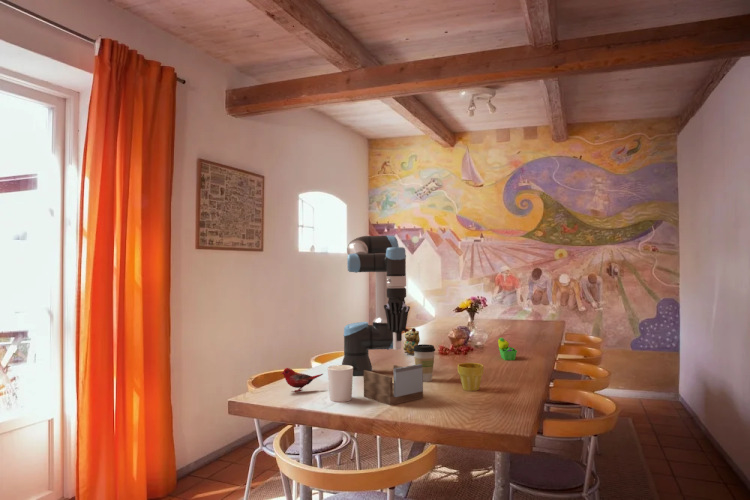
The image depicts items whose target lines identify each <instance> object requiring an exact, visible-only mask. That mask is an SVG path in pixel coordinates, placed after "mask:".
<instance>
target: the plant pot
mask: <svg viewBox="0 0 750 500" xmlns="http://www.w3.org/2000/svg"><path fill="white" fill-rule="evenodd" d="M484 367H485V366H484V365H483V364H482V363H477V362H462V363H458V364H457V374H458V375H459V378H460V382H461V386H462V390H464V391H467V392H476V391H479V390H480V387H481V382H482V377H483V375H484V372H485V371H484V369H485V368H484Z"/></svg>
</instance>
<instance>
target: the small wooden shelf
mask: <svg viewBox="0 0 750 500" xmlns="http://www.w3.org/2000/svg"><path fill="white" fill-rule="evenodd" d="M401 367H403V366H400V365H397V364H395V365H393V370H394V369H395V368H401ZM422 382H423V371H422ZM423 383H424V382H423ZM363 398H367V399H370V400H373V401H375V402H378V403H383V404H385V405H388V406H394V405H398V404H402V403H405V402H411V401H415V400H417V399H423V398H424V390H423V391H421V392H416V393H412V394H407V395H403V396H399V397H394V382H393V376H390V375H387V374H383V373H377V372H374V371H372V372H371V371H367V370H365V371H364V375H363Z"/></svg>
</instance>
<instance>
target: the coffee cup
mask: <svg viewBox="0 0 750 500" xmlns="http://www.w3.org/2000/svg"><path fill="white" fill-rule="evenodd" d="M413 351H414V355H413V357H414V365H418V364H422V371H423V383H428V382H432V381H433V373H434V363H435V351H436V348H435V346H434V345H432V344H426V343H423V344H418V345H415V346H414V349H413Z"/></svg>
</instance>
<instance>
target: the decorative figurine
mask: <svg viewBox="0 0 750 500" xmlns="http://www.w3.org/2000/svg"><path fill="white" fill-rule="evenodd" d="M404 338H405V340H404V342H403V346H402V347H403V348H402V349H403V350H404V351H403V352H404V354H407V356H415V355H414V351H413V349H414V346H415V345H420V341H421V339H420V331H419V330H417V329H416V328H415V327H414V328H412V329H411V330H409V328H407V327H406V330H405V331H404Z"/></svg>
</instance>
